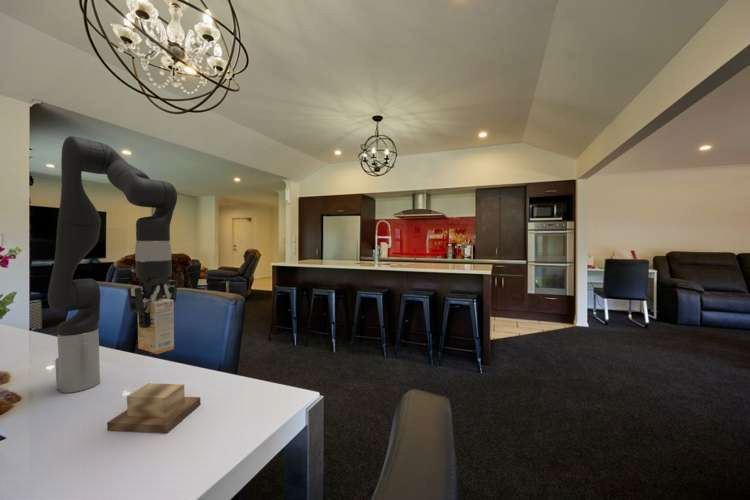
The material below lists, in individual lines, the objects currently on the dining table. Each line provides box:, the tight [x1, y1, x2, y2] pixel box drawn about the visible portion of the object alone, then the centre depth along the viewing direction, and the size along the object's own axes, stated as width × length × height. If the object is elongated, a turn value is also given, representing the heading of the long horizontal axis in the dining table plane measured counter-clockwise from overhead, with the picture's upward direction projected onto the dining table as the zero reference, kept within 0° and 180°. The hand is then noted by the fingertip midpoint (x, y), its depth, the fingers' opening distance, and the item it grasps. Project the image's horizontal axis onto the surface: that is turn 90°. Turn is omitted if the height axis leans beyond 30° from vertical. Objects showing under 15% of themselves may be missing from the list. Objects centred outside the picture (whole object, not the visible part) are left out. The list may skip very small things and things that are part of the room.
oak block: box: [126, 382, 186, 418], centre depth 82 cm, size 10×7×5 cm
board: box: [106, 396, 201, 434], centre depth 82 cm, size 15×13×2 cm
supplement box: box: [137, 298, 175, 355], centre depth 81 cm, size 8×5×13 cm, turn 63°
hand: (155, 323), depth 81 cm, fingers closed on supplement box, 6 cm apart
